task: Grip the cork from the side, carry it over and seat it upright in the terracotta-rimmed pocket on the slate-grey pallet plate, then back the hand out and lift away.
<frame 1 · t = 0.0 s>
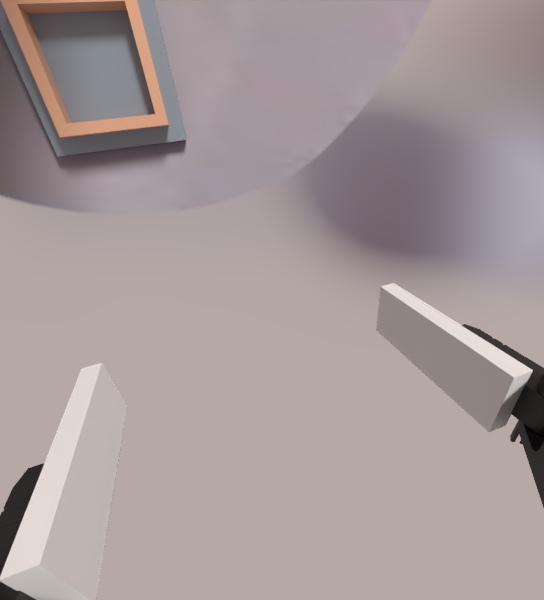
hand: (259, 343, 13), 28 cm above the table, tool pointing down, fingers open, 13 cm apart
pallet plate: (101, 72, 28), on the table
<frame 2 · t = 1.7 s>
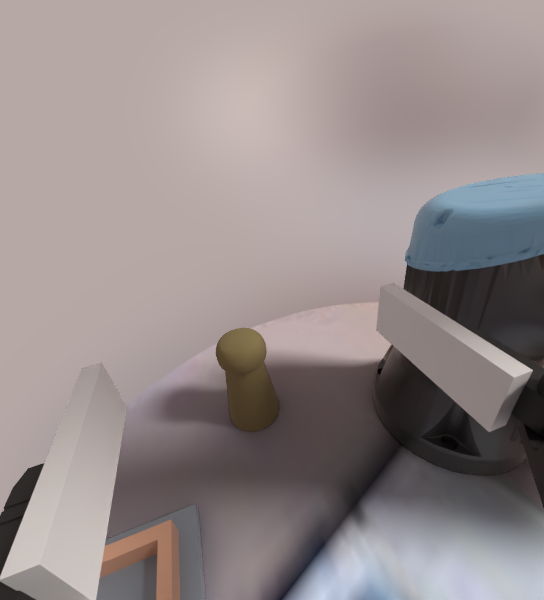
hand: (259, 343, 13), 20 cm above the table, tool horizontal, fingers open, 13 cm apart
cork: (254, 409, 34), on the table
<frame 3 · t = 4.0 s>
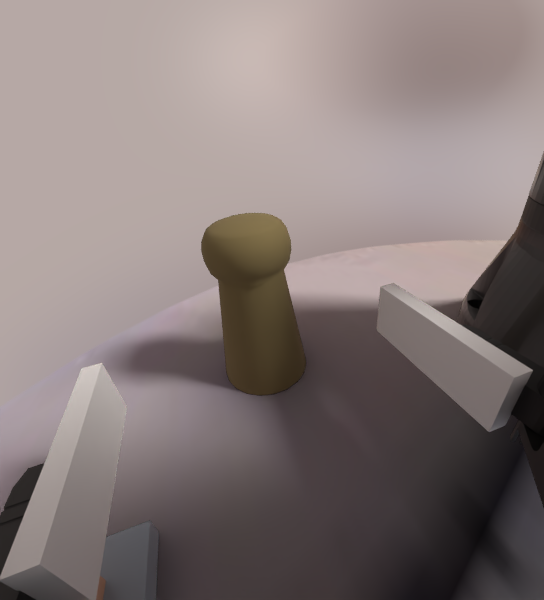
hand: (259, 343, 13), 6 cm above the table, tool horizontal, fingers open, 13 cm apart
cork: (266, 365, 21), on the table
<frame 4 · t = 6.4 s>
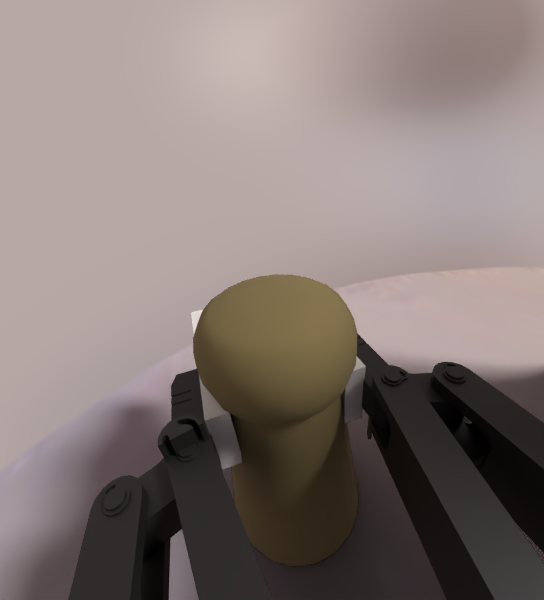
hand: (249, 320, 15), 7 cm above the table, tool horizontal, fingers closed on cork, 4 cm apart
cork: (295, 488, 14), on the table, touching gripper
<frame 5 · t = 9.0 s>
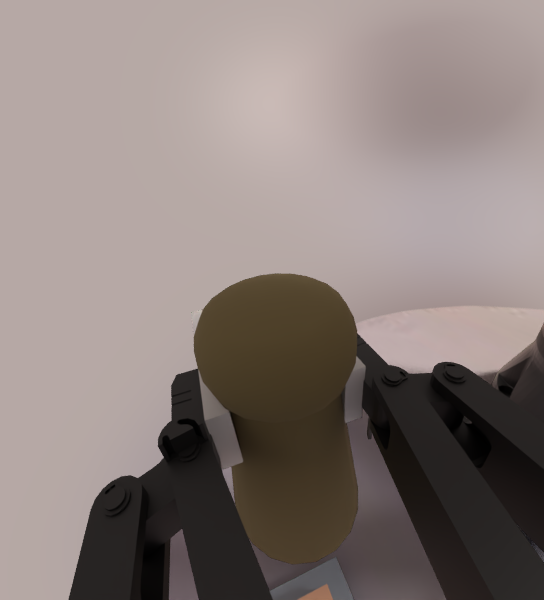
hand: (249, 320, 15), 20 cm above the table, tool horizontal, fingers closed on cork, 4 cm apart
cork: (295, 486, 14), point 14 cm above the table, touching gripper
when the fingers open (9 cm above the table, at t = 11.6 s): cork moves 1 cm, resting on pallet plate.
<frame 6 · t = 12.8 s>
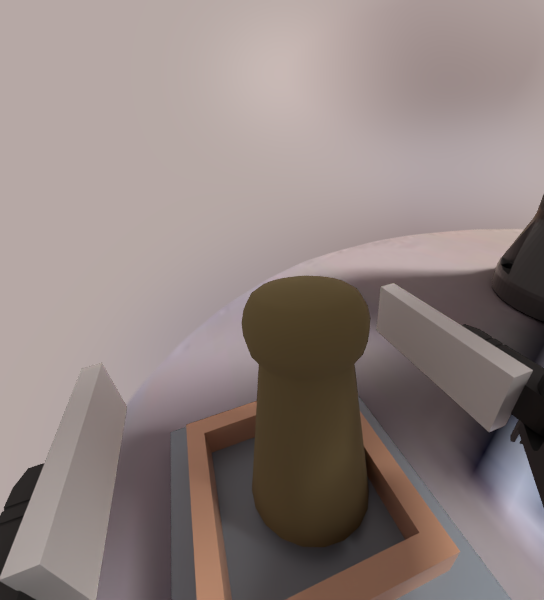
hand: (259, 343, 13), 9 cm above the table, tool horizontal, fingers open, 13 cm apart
cork: (308, 484, 15), point 2 cm above the table, touching pallet plate
pallet plate: (296, 504, 16), on the table
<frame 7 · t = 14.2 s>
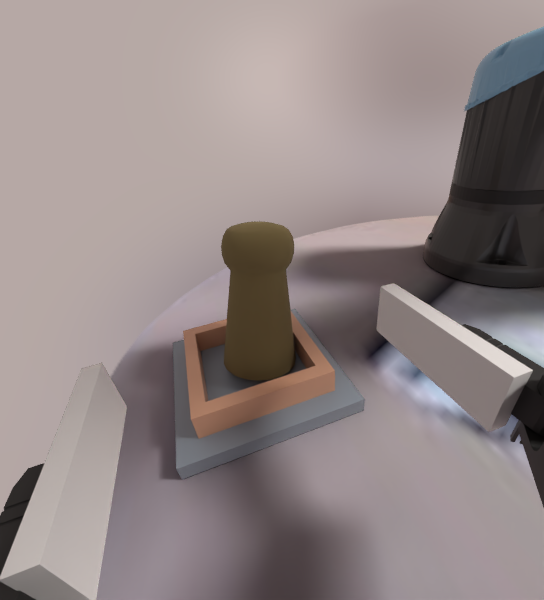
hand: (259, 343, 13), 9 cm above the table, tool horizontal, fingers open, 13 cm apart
cork: (259, 359, 24), point 2 cm above the table, touching pallet plate
pallet plate: (254, 376, 24), on the table
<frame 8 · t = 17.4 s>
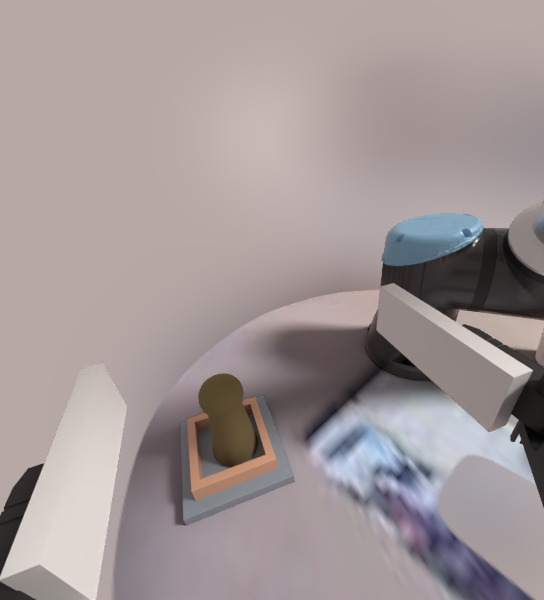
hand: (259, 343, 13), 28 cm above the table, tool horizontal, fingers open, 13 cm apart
cork: (235, 445, 38), point 1 cm above the table, touching pallet plate
pallet plate: (232, 451, 38), on the table
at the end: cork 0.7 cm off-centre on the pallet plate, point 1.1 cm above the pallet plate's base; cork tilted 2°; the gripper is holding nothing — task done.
